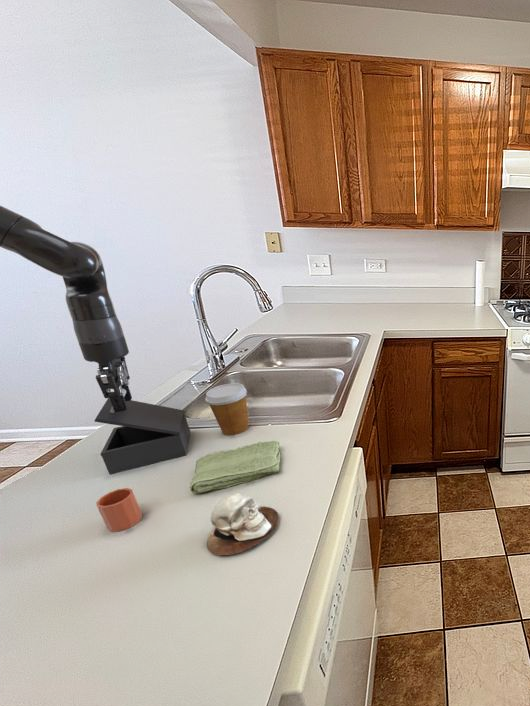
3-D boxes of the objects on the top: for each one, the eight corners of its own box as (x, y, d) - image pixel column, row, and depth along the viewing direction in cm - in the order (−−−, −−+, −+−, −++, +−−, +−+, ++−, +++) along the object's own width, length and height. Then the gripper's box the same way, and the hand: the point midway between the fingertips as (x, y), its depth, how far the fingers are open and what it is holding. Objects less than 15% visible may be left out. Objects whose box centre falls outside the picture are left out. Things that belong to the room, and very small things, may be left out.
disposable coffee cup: (229, 420, 113) (219, 382, 109) (262, 420, 113) (253, 382, 109) (207, 438, 105) (194, 398, 100) (242, 439, 104) (231, 398, 100)
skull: (296, 508, 79) (260, 502, 70) (271, 564, 75) (230, 565, 66) (250, 493, 83) (211, 484, 74) (224, 545, 79) (179, 543, 70)
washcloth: (282, 474, 91) (280, 462, 90) (190, 499, 83) (186, 486, 82) (280, 445, 102) (277, 434, 100) (198, 465, 94) (194, 453, 93)
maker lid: (94, 421, 86) (102, 401, 86) (108, 398, 96) (115, 380, 96) (178, 435, 95) (186, 416, 95) (183, 412, 105) (190, 396, 105)
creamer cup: (101, 534, 74) (89, 509, 72) (117, 515, 79) (106, 490, 77) (134, 528, 76) (123, 504, 73) (147, 509, 80) (137, 486, 78)
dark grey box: (109, 474, 91) (100, 453, 89) (121, 447, 101) (113, 427, 99) (186, 455, 98) (179, 435, 95) (190, 431, 108) (184, 413, 106)
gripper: (87, 330, 91) (110, 396, 97) (67, 348, 80) (94, 422, 86) (129, 326, 95) (149, 390, 101) (115, 343, 83) (138, 415, 89)
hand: (123, 405), depth 93 cm, fingers closed on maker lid, 5 cm apart
